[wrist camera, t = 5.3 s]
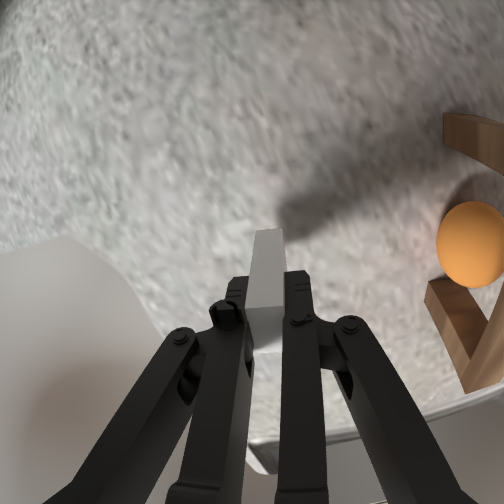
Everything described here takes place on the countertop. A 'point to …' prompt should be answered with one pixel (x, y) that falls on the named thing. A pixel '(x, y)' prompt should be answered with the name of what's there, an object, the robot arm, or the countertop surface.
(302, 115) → the countertop surface
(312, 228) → the countertop surface
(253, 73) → the countertop surface
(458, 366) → the bridge
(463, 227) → the ball
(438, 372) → the countertop surface
